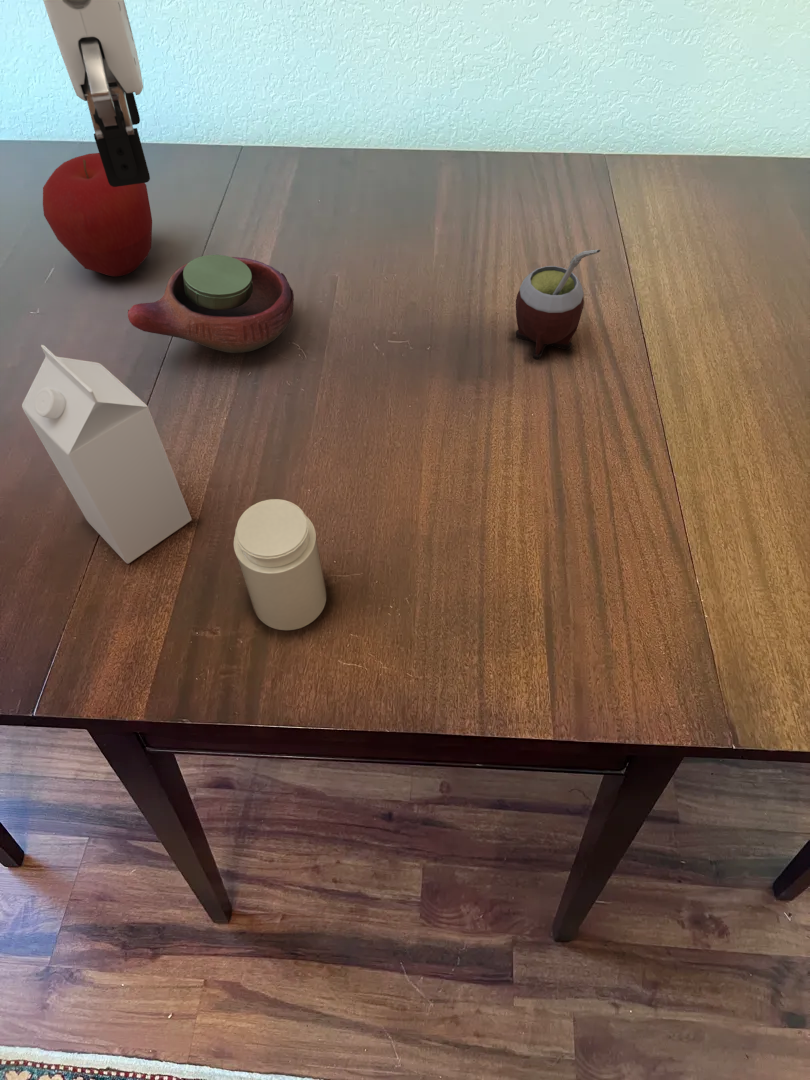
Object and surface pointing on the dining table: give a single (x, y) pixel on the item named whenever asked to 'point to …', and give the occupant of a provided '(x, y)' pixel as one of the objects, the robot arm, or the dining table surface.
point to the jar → (280, 564)
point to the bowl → (221, 313)
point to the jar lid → (217, 282)
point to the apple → (98, 216)
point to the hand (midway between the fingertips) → (126, 152)
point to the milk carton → (106, 453)
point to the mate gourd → (550, 306)
